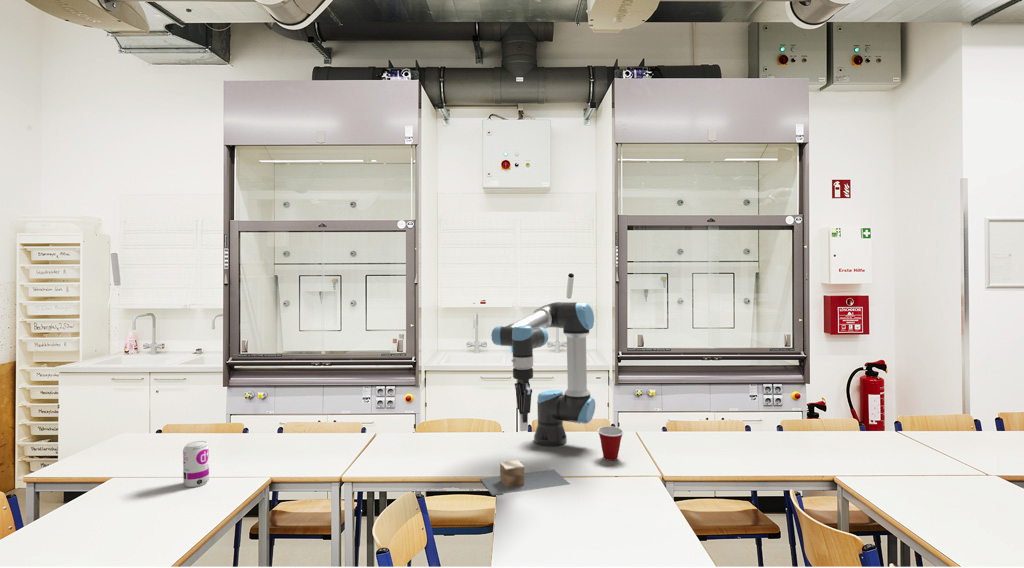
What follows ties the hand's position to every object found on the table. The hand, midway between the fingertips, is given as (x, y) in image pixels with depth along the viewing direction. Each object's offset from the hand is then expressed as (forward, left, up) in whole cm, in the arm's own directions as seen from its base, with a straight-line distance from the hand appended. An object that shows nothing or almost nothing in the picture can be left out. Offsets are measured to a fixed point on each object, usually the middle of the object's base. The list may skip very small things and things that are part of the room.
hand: (524, 430), depth 204 cm
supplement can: (+116, -39, -20) cm, 124 cm away
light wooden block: (+5, 0, -12) cm, 13 cm away
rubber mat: (0, 0, -19) cm, 19 cm away
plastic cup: (-43, -13, -20) cm, 49 cm away
